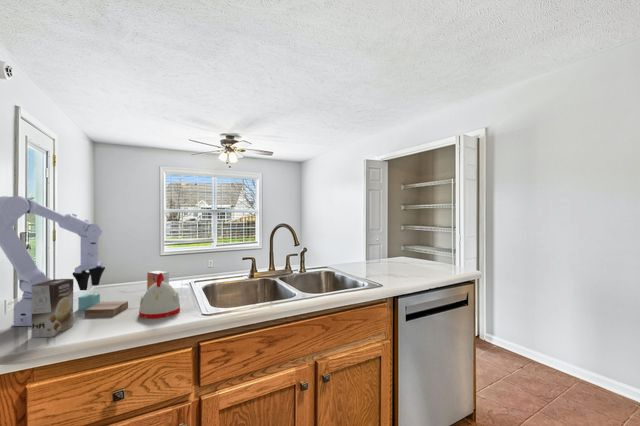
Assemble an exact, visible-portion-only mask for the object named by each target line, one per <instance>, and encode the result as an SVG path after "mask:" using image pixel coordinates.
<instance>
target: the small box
mask: <svg viewBox="0 0 640 426" xmlns="http://www.w3.org/2000/svg"><path fill="white" fill-rule="evenodd" d="M159 273H162V275H163V277H164V282H166V283H168V284H169V285H170V272H169V271H163V270H153V271H147V279H146V281H147V282H146V286H147V289H146V291H147V290H148V289H149V288H150V287H151V286H152V285H153V284H155V283H156V280H157V275H159Z"/></svg>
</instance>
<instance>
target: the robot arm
mask: <svg viewBox="0 0 640 426" xmlns="http://www.w3.org/2000/svg"><path fill="white" fill-rule="evenodd" d="M25 214H33V215H37V216H39V217H42V218H44V219H47V220H50V221H52V222H55V223H57V225H58V226H59V228H61V229H63V230H66V231H68V232H70V233H73V234H76V235H77V236H79V238H80V264H79V265H78V266H77V267H74V272H72V277H73V278H74V279H75V280H76V282H77V285H78V288H79V291H87V290H88V286H89V285H88V284H89V279H90V280H91V285H92V286H99V285H100V281H101V278H102V276H103V273H104V271H105V270H106V267H105V266H104V261H99V240H100V239H99V238H100V236H101V235H102V233H103V231H102V229H101V227H100V225H98V224H96V223H90V221H89V220H88V219H82V218H80V217H77V216H78V215H77V214H76V213H75V214H74V213H66V214H62V213H60V212H58V211H56V210H54V209H52V208H49V207H48V206H45V205H43V204H41V203H39V202H37V201H34V200H32V199H29V198H28V199H27V198H25V197H23V196H20V195H14V196H13V195H12V196H8V195H7V196H4V195H3V196H0V248H1V250H2V251H3V253H4V254H5V256H6V257H7V260H8V261H9V262H10V264H11V265H12V267H13V268H14V270H15V271H16V273H17V280H18V281H19V283H18V288H19V290H20V291H21V292H23V293H22V298H21V299H20V300H19V301H18V302H16V303H15V304H14V307H13V323H12V324H10V327H28V326H31V322H32V285H35V284H38V283H42V282H46V281H50V280H52V279H51V278H50V277H47V275H45V273H44V272H43V271H42V270H41V269H40V268H38V266H37V264H36V263H35V261H34V260H33V258H32V256H31V255H30V253H29V251H28V250H27V248H26V247H25V244H24V243H23V242H22V240H21V238H20V236H19V235H18V234H17V232H16V230H15V229H14V226H15V225H16V223H17V221H18V220H19V219H20V218H21V217H23V216H24V215H25ZM87 271H88V272H87Z"/></svg>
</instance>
